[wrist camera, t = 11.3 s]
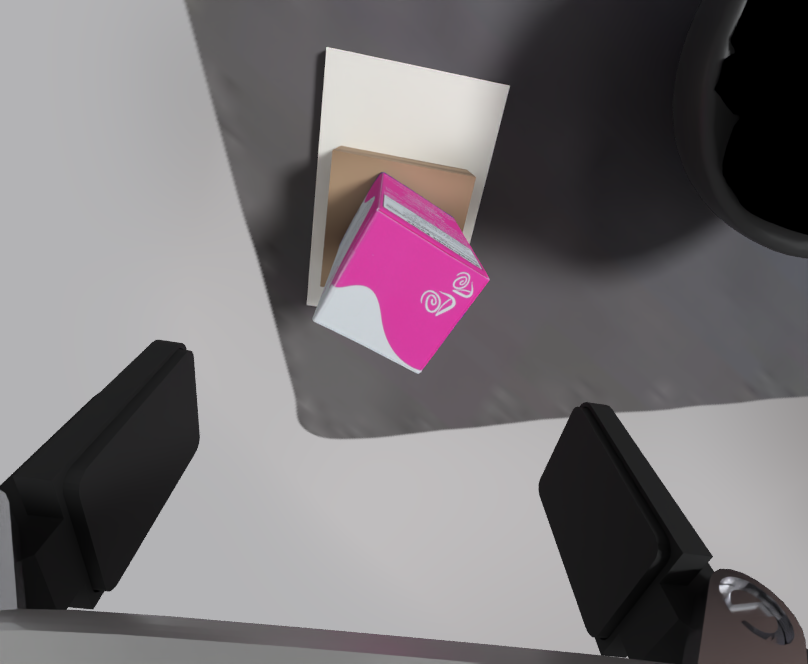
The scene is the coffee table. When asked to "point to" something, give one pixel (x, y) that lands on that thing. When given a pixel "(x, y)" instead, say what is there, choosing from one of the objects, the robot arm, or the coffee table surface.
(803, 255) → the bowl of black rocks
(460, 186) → the walnut block
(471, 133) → the board
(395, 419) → the coffee table surface
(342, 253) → the supplement box
